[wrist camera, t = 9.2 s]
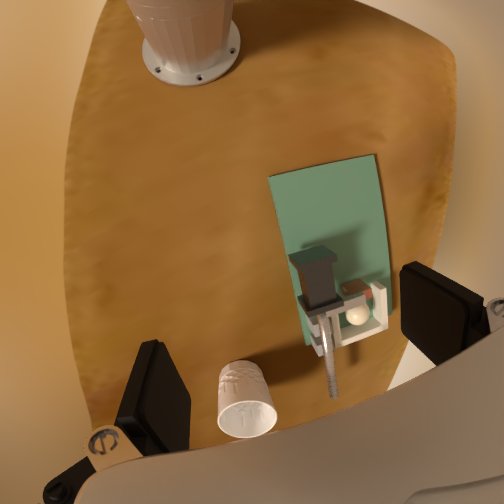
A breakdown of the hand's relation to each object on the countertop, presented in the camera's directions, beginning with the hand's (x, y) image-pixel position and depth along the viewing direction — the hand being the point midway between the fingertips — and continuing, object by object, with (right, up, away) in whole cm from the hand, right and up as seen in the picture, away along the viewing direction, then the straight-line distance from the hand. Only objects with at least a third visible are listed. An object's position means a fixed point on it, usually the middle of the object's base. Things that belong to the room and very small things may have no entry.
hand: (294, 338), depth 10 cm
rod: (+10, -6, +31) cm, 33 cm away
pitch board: (+11, +3, +30) cm, 32 cm away
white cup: (-3, -16, +34) cm, 38 cm away
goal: (+13, -5, +33) cm, 36 cm away
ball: (+14, -6, +30) cm, 33 cm away
